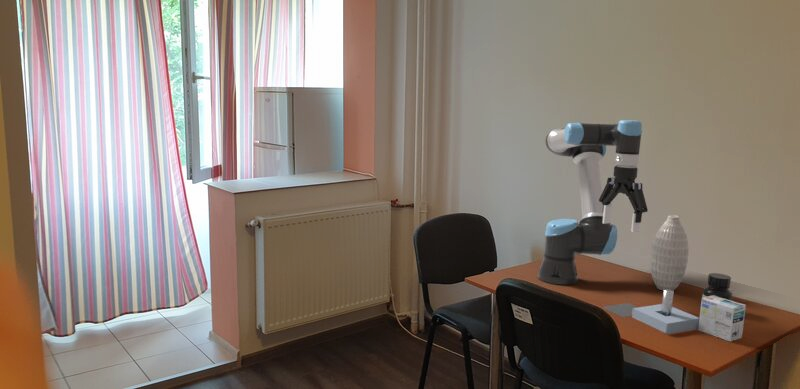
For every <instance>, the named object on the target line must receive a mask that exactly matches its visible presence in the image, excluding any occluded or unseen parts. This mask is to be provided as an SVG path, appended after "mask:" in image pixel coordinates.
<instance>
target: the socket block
mask: <svg viewBox="0 0 800 389" xmlns="http://www.w3.org/2000/svg"><path fill="white" fill-rule="evenodd" d="M661 308H662V303H660V304H659V303H657V304H653V305H646V306H639V307H638V308H633V311H632V316H631V318H633V319H635V320H637V321H639V322H641V323H643V324H646V325H648V326H649V327H652V328H654V329H657V330H658V331H660V332H662V333H663V334H664V335H670V334H671V335H672V334H676V333H682V332H688V331H694V330H698V326H699V318H700V317H698V316H695V315H693V314H691V313H689V312H686V311H684V310H681V309H678V308H676V307H674V306H672V311H671V316H664V315H662V314H661Z"/></svg>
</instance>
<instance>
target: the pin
mask: <svg viewBox="0 0 800 389" xmlns="http://www.w3.org/2000/svg"><path fill="white" fill-rule="evenodd" d="M674 291H675V290H674ZM674 291H673V290H669V289H664V291H663V290H662V292H663V294H662V299H661V300H662V301H661V304H662V308H661V314H662V315H664V316H671V311H672V307H673V302H674V293H675V292H674Z"/></svg>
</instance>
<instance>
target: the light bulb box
mask: <svg viewBox="0 0 800 389" xmlns="http://www.w3.org/2000/svg"><path fill="white" fill-rule="evenodd" d="M746 308H747V305H746V304H744V303H740V302H737V301H734V300H732V301H731V300H727V299H724V298H720V297H717V296H715V295H712V296H708V297H703V298H702V297H701V303H700V310H699V311H700V312H699V317H698V318H699V326H698V329H697V330H698V332H699V331H700V332H702V333H705V334H708V335H710V336H714V337H716V338H718V337H719V338H718V339H722V340H724V341H727V342H729V341H730V342H733V340H734V341H736V340H740V339H742V338H743V331H744V324H745V316H746Z"/></svg>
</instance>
